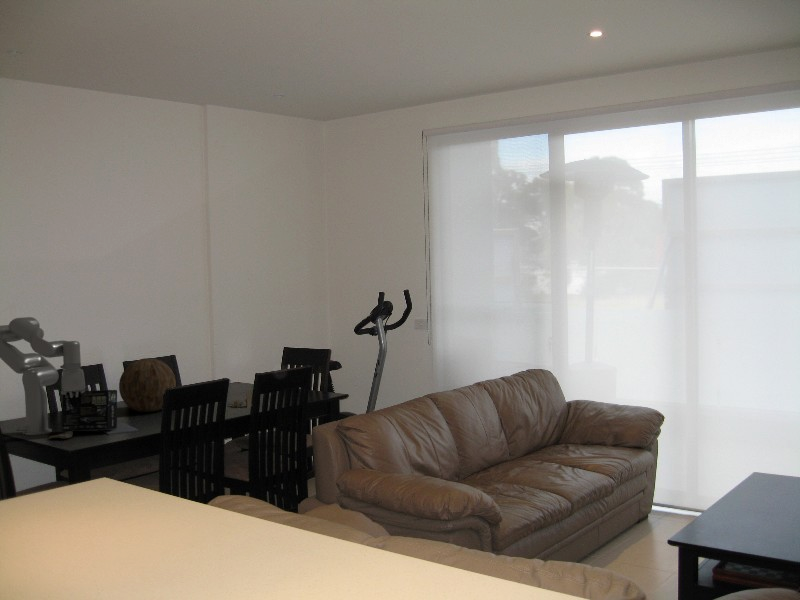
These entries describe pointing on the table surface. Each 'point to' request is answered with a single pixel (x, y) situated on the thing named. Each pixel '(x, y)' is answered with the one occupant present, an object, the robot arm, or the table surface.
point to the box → (90, 411)
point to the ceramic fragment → (63, 435)
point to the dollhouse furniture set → (247, 402)
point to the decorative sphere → (146, 384)
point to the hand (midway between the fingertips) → (73, 405)
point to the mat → (120, 429)
